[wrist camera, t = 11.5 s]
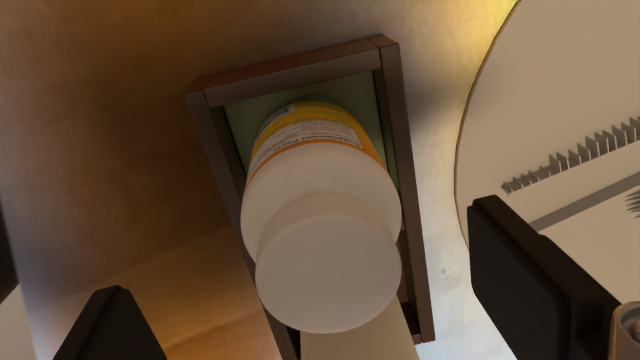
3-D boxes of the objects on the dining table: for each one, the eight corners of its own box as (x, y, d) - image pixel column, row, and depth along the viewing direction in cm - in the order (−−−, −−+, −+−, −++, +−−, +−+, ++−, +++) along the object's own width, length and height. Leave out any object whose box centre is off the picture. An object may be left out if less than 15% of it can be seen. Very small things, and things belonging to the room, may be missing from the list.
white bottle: (308, 311, 24) (321, 502, 15) (288, 244, 22) (288, 422, 13) (390, 293, 24) (451, 476, 15) (377, 224, 22) (440, 391, 13)
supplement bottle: (357, 200, 21) (407, 354, 12) (252, 194, 20) (226, 352, 12) (374, 98, 19) (451, 198, 10) (256, 88, 18) (228, 184, 9)
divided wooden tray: (287, 330, 26) (287, 372, 23) (198, 77, 18) (182, 93, 16) (419, 302, 25) (436, 341, 23) (382, 33, 18) (399, 42, 15)
